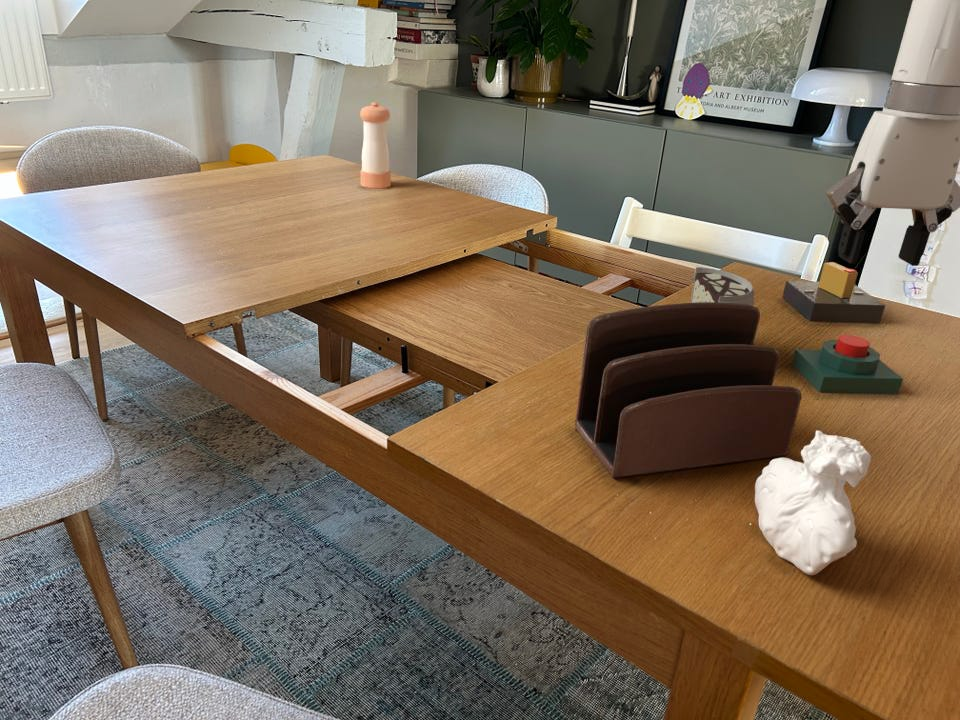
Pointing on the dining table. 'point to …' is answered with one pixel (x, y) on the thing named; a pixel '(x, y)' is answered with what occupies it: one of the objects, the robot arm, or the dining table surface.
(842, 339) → the button
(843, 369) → the button box
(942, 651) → the dining table surface
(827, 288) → the knob
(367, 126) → the salt shaker
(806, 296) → the panel
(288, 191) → the dining table surface
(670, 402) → the letter holder
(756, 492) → the white tied bag
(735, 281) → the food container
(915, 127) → the robot arm
